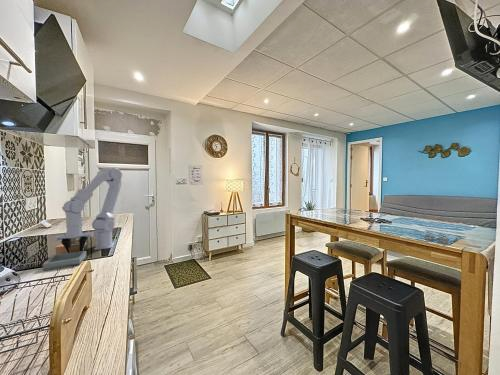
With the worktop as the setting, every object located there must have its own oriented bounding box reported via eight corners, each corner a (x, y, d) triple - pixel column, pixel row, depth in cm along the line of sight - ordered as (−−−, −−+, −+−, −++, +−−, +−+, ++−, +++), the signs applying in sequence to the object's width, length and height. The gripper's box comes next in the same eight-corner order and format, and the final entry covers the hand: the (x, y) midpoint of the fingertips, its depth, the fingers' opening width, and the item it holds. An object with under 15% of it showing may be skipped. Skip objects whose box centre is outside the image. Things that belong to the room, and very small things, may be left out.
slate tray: (54, 261, 96) (53, 255, 96) (86, 256, 101) (86, 250, 101) (43, 270, 86) (42, 264, 86) (79, 265, 91) (79, 258, 91)
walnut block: (71, 255, 103) (71, 245, 103) (82, 253, 105) (81, 244, 104) (69, 258, 99) (68, 247, 99) (79, 256, 101) (79, 246, 101)
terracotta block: (59, 254, 104) (58, 244, 104) (69, 253, 106) (69, 243, 105) (56, 257, 100) (55, 247, 100) (66, 256, 102) (66, 245, 102)
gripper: (51, 228, 94) (52, 258, 95) (90, 225, 101) (91, 253, 101) (57, 225, 101) (58, 253, 101) (94, 222, 107) (95, 248, 108)
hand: (75, 253), depth 102 cm, fingers closed on walnut block, 4 cm apart
